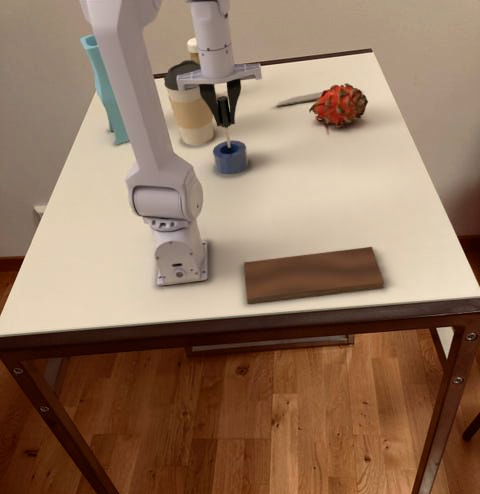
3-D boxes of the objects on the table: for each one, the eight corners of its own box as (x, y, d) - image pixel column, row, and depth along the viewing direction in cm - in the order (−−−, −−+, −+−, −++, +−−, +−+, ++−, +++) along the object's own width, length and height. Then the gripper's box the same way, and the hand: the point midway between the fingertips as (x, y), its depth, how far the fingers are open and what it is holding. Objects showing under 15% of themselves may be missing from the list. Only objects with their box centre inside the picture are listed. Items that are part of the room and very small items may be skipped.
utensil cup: (249, 173, 99) (247, 155, 96) (216, 178, 99) (212, 160, 96) (247, 156, 103) (245, 138, 100) (215, 160, 103) (212, 142, 100)
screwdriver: (234, 141, 98) (227, 94, 91) (234, 147, 96) (227, 100, 89) (223, 142, 98) (216, 96, 91) (224, 148, 96) (216, 101, 90)
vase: (150, 134, 114) (124, 39, 99) (116, 145, 113) (85, 50, 98) (141, 120, 119) (116, 28, 105) (109, 130, 118) (78, 38, 103)
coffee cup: (213, 149, 107) (200, 76, 95) (172, 149, 109) (155, 78, 97) (222, 127, 112) (211, 56, 101) (184, 127, 114) (169, 58, 103)
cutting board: (383, 287, 74) (384, 282, 73) (247, 303, 75) (246, 298, 74) (371, 252, 80) (371, 246, 79) (244, 267, 81) (243, 262, 80)
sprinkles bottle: (194, 103, 122) (183, 44, 112) (202, 95, 124) (191, 36, 115) (212, 104, 120) (202, 44, 110) (219, 95, 123) (210, 36, 113)
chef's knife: (272, 102, 118) (274, 107, 115) (272, 97, 117) (274, 102, 115) (355, 88, 117) (358, 93, 115) (355, 83, 116) (358, 88, 114)
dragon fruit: (371, 129, 107) (314, 141, 110) (367, 91, 108) (310, 104, 111) (370, 110, 99) (308, 123, 102) (365, 69, 100) (304, 83, 103)
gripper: (256, 29, 86) (263, 107, 96) (172, 41, 87) (187, 117, 97) (259, 44, 81) (266, 125, 91) (170, 57, 82) (186, 136, 92)
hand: (226, 122), depth 94 cm, fingers closed on screwdriver, 2 cm apart
